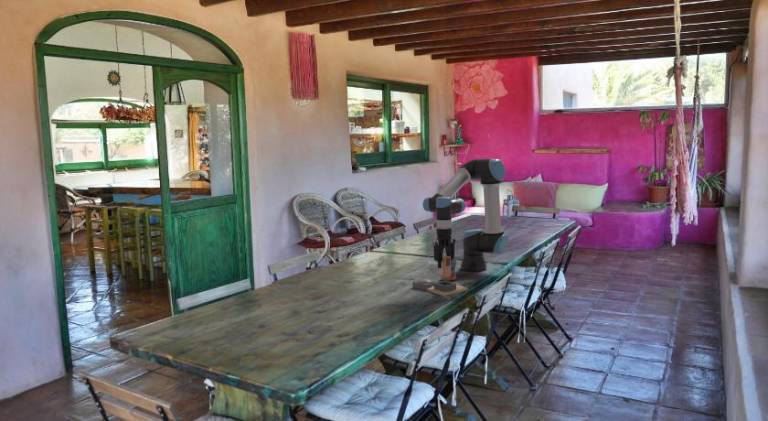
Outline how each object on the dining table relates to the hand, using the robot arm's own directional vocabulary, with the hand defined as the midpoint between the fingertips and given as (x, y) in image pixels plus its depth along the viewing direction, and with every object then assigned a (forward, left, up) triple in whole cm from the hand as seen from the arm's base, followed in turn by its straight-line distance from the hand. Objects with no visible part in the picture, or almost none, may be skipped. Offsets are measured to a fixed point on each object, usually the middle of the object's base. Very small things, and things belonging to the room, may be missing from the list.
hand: (444, 273), depth 289 cm
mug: (-18, -17, -10) cm, 27 cm away
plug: (0, 0, -1) cm, 1 cm away
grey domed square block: (+2, -13, -9) cm, 16 cm away
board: (-2, -2, -9) cm, 10 cm away
